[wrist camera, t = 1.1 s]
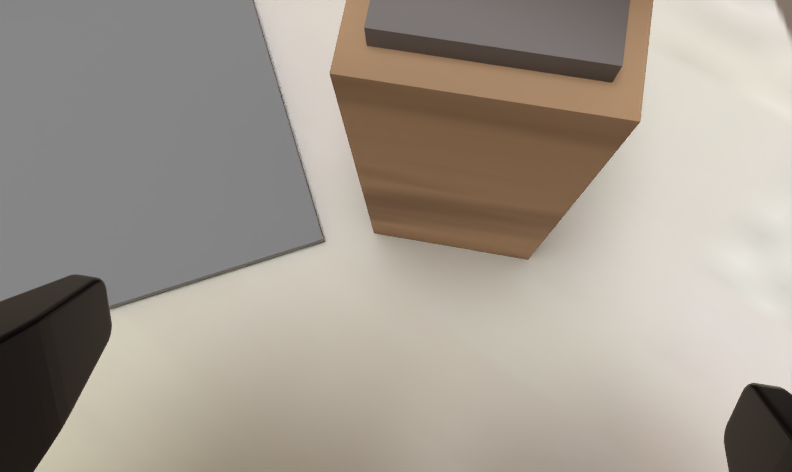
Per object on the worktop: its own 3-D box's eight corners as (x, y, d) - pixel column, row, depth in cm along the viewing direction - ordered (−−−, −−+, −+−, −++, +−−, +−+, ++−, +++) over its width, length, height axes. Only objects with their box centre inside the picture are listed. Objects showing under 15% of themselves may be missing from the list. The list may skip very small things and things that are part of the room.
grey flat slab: (324, 241, 23) (319, 233, 22) (-61, 362, 23) (-87, 360, 22) (220, -108, 27) (211, -131, 26) (-114, -11, 26) (-139, -30, 25)
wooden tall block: (528, 259, 23) (651, 107, 11) (374, 232, 23) (324, 56, 11) (551, 91, 24) (685, -213, 12) (406, 69, 25) (394, -247, 13)
